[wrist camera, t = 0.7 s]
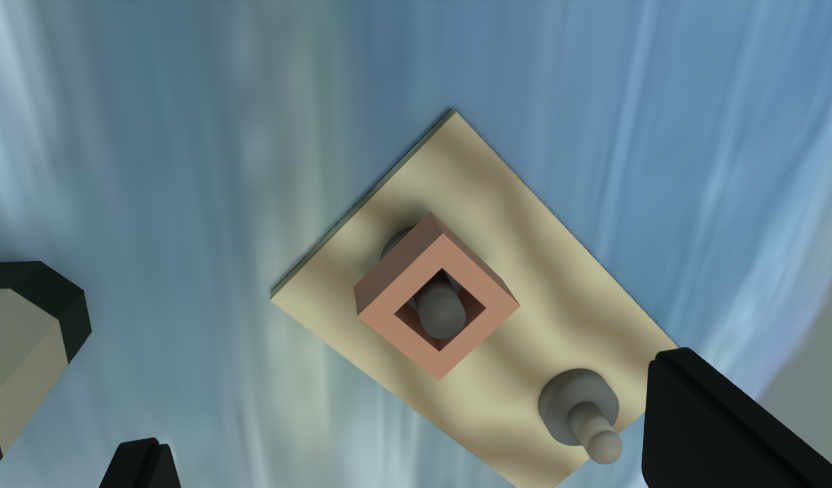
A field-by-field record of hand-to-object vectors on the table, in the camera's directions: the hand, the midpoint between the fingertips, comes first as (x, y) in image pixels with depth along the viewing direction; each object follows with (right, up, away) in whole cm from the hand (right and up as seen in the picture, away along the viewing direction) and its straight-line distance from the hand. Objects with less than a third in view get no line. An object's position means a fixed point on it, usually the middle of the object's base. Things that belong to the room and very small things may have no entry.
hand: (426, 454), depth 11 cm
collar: (+1, +2, +27) cm, 27 cm away
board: (+6, -2, +35) cm, 35 cm away
